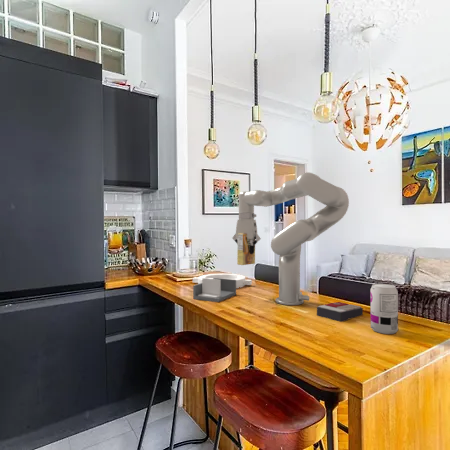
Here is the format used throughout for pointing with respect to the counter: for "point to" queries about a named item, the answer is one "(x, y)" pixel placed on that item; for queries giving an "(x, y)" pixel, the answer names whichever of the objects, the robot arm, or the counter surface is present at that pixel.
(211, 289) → the shelf
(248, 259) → the candy box
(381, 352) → the counter surface
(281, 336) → the counter surface
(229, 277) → the ring with crossbar
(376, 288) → the supplement can
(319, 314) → the dark grey flat box
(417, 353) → the counter surface
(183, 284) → the counter surface
